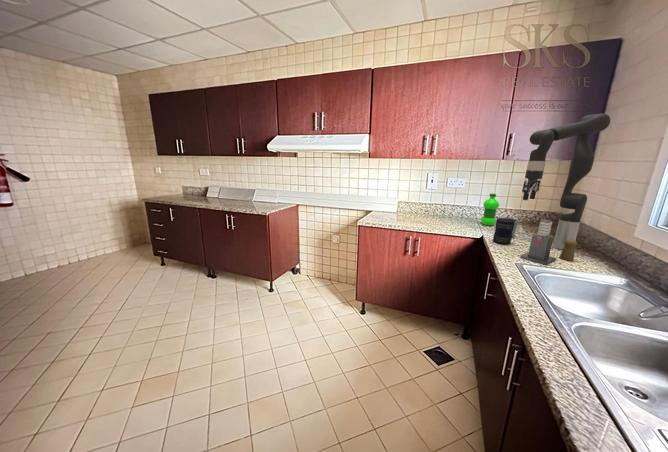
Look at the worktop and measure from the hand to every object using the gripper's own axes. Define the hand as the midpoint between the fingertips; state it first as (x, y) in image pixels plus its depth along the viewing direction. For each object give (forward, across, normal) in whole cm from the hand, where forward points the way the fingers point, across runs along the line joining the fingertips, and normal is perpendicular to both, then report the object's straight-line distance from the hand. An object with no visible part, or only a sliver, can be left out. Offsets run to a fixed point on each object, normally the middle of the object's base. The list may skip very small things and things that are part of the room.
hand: (528, 199), depth 145 cm
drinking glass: (+30, -26, -18) cm, 44 cm away
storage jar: (+30, -8, -13) cm, 34 cm away
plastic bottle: (+30, -44, -41) cm, 67 cm away
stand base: (+30, +5, +12) cm, 33 cm away
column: (+28, +5, +12) cm, 31 cm away
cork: (+30, -8, +20) cm, 37 cm away
